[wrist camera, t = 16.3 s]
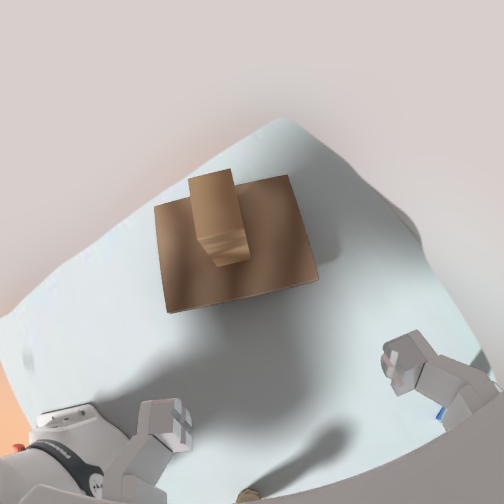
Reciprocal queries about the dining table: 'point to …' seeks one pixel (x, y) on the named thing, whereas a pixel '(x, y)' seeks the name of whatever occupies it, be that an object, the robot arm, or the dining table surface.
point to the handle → (248, 496)
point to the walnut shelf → (242, 273)
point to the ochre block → (218, 218)
